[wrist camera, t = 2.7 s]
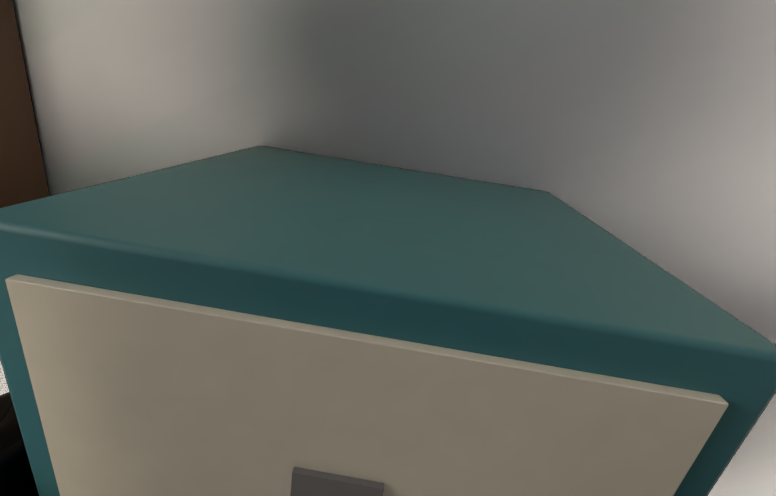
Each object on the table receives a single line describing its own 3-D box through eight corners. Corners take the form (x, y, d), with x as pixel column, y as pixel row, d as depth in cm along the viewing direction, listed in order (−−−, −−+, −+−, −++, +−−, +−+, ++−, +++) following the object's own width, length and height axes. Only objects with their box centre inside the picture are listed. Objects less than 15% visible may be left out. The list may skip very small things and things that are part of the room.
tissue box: (466, 466, 11) (509, 821, 5) (252, 428, 11) (91, 736, 6) (550, 191, 8) (829, 374, 2) (257, 144, 8) (-74, 222, 3)
